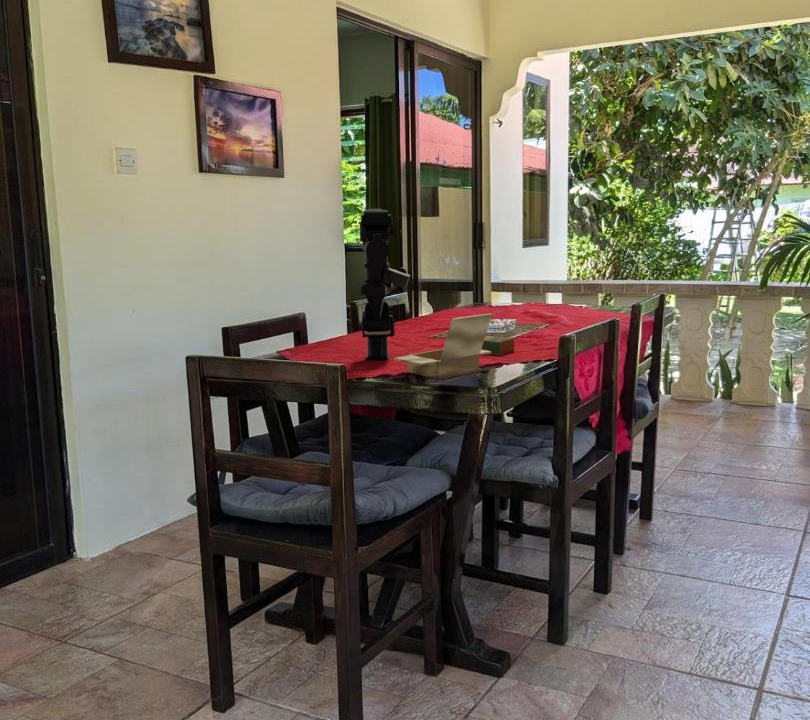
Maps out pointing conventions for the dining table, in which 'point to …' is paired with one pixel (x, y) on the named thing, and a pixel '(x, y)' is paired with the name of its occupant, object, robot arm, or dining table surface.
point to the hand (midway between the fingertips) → (378, 319)
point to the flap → (465, 336)
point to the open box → (441, 364)
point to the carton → (498, 345)
